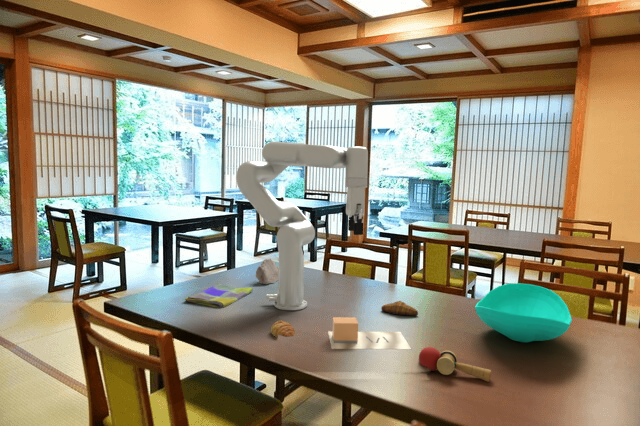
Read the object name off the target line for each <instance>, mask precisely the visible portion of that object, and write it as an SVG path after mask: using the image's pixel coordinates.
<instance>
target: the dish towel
mask: <svg viewBox="0 0 640 426" xmlns="http://www.w3.org/2000/svg"><path fill="white" fill-rule="evenodd" d="M252 291H253V287H249V286H248V287H234V286H230V285H226V284H225V285H224V284H222V283H216V284H215V285H212V286H210V287H208V288H207V289H205V290H202V291H200V292H197V293H195V294H193V295H190V296H187V297H186V298H184V301H186V302H188V303H192V304H196V305H197V304H198V305H203V306H207V307H208V306H209V307H213V308H218V309H220V308H221V309H222V308H225V307H227V306H230V305H232V304H233V303H236V302H238V301H240V300H241V299H243V298H244V297H246V296H248V295H249V294H250V293H251V292H252Z"/></svg>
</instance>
